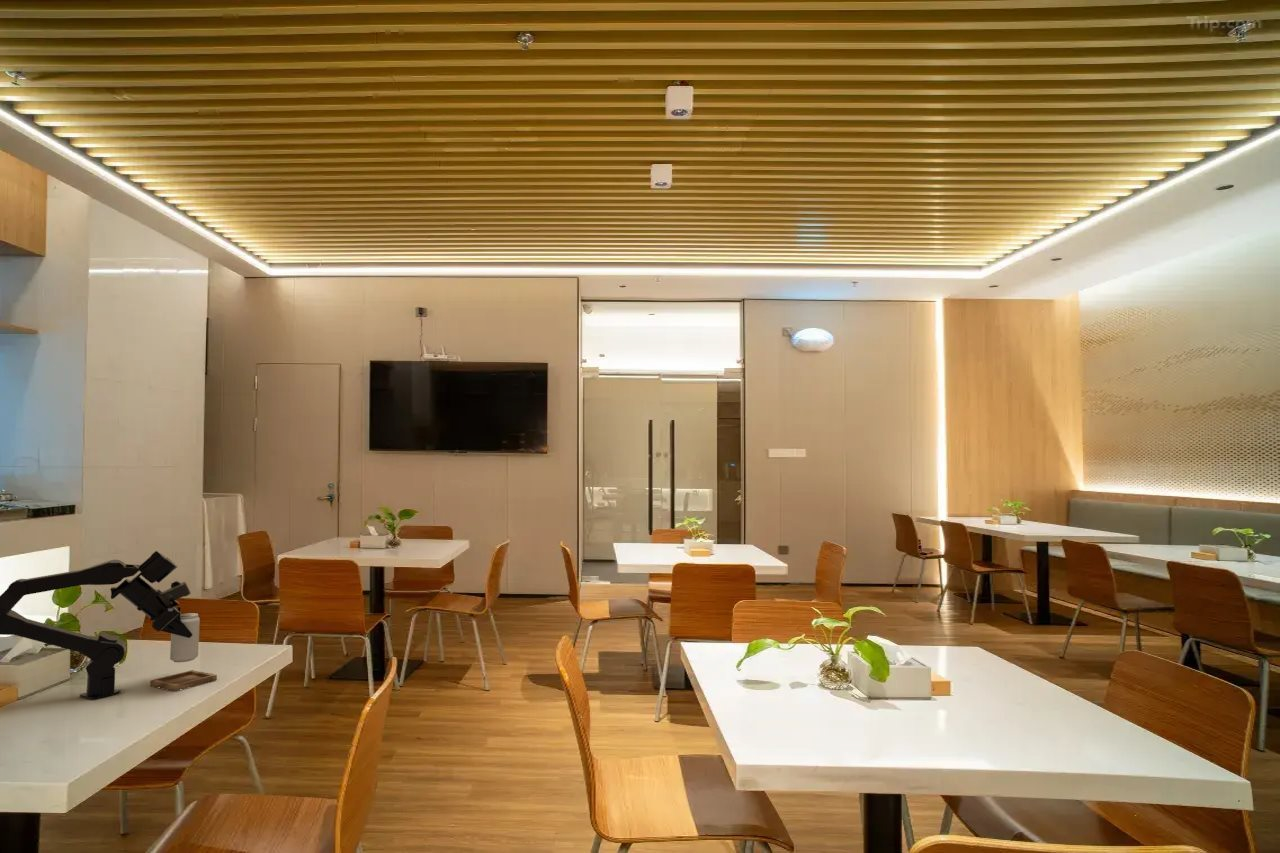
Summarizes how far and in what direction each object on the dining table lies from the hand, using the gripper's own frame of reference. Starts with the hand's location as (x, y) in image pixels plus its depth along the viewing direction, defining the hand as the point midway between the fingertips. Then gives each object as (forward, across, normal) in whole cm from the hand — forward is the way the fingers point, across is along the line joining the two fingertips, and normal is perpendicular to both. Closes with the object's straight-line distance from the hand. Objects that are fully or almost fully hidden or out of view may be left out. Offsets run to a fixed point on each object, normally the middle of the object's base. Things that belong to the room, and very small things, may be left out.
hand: (191, 634), depth 193 cm
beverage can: (+4, 0, +6) cm, 7 cm away
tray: (+8, 0, +10) cm, 13 cm away
